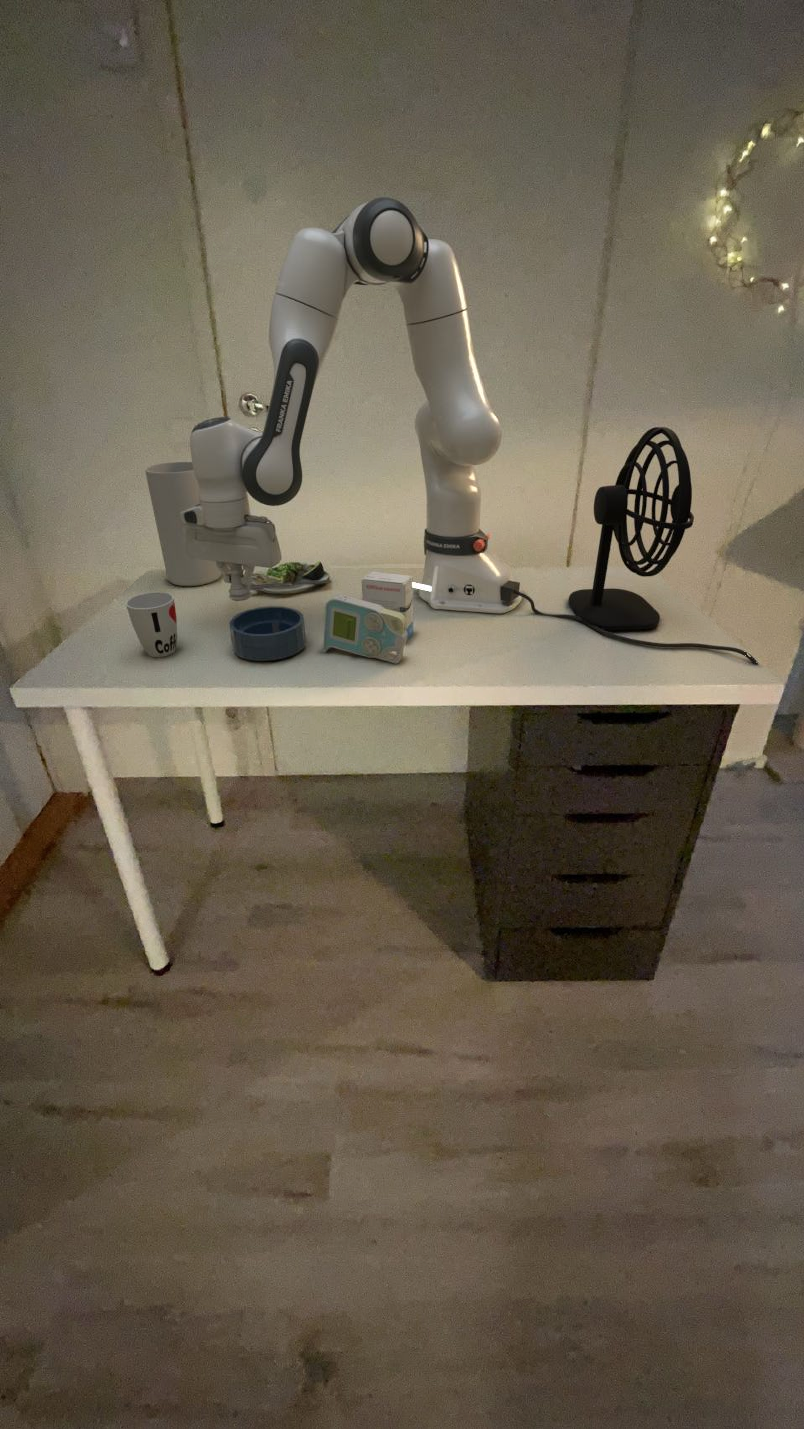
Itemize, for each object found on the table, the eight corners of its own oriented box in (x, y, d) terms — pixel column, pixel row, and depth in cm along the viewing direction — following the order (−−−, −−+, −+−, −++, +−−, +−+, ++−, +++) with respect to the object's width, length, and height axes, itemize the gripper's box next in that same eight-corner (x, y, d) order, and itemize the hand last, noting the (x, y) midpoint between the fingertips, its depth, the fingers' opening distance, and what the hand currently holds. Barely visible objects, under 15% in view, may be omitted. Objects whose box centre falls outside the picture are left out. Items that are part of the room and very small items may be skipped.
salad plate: (265, 606, 139) (263, 585, 136) (230, 583, 151) (227, 564, 149) (342, 586, 149) (341, 566, 146) (303, 566, 161) (301, 547, 159)
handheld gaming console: (397, 675, 116) (321, 652, 119) (403, 668, 118) (328, 646, 122) (405, 618, 110) (325, 596, 113) (411, 612, 112) (332, 591, 115)
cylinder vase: (222, 584, 151) (203, 471, 138) (165, 589, 148) (141, 474, 135) (222, 567, 161) (205, 460, 148) (170, 571, 159) (148, 463, 146)
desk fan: (687, 639, 122) (734, 439, 104) (595, 642, 122) (627, 442, 103) (634, 588, 146) (666, 417, 127) (557, 590, 145) (577, 419, 126)
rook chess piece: (246, 602, 129) (240, 562, 125) (225, 601, 130) (218, 562, 125) (255, 593, 132) (249, 555, 128) (235, 592, 133) (228, 554, 129)
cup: (158, 664, 116) (146, 612, 111) (128, 654, 120) (115, 603, 115) (193, 647, 122) (183, 597, 117) (163, 638, 126) (152, 589, 121)
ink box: (414, 633, 126) (413, 574, 120) (405, 643, 122) (405, 583, 116) (373, 627, 129) (370, 570, 123) (363, 637, 125) (360, 578, 119)
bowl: (319, 639, 125) (317, 612, 122) (281, 669, 114) (277, 640, 111) (260, 628, 129) (257, 602, 126) (218, 656, 119) (214, 628, 116)
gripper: (282, 513, 121) (291, 584, 128) (194, 505, 128) (207, 572, 135) (263, 522, 116) (274, 595, 123) (172, 513, 123) (187, 583, 131)
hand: (238, 583), depth 129 cm, fingers closed on rook chess piece, 3 cm apart
